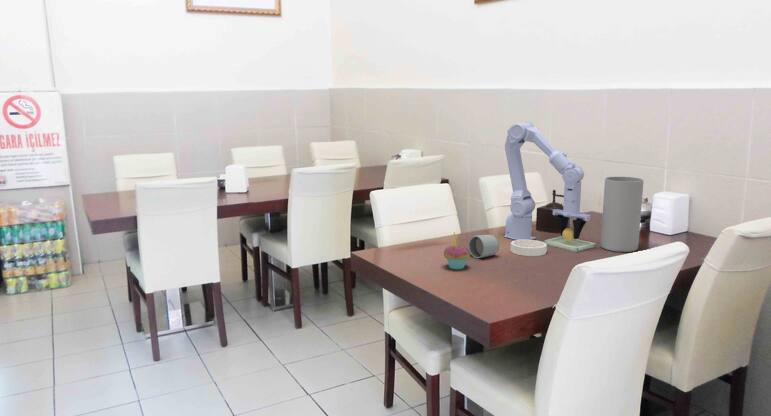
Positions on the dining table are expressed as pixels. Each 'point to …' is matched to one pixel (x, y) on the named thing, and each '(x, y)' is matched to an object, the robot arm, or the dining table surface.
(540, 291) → the dining table surface
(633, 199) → the cylinder vase
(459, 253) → the cupcake
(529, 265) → the dining table surface
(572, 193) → the robot arm
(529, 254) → the bowl
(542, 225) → the brown manual coffee grinder
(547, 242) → the tray
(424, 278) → the dining table surface
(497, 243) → the ceramic mug
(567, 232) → the ball
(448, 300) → the dining table surface
